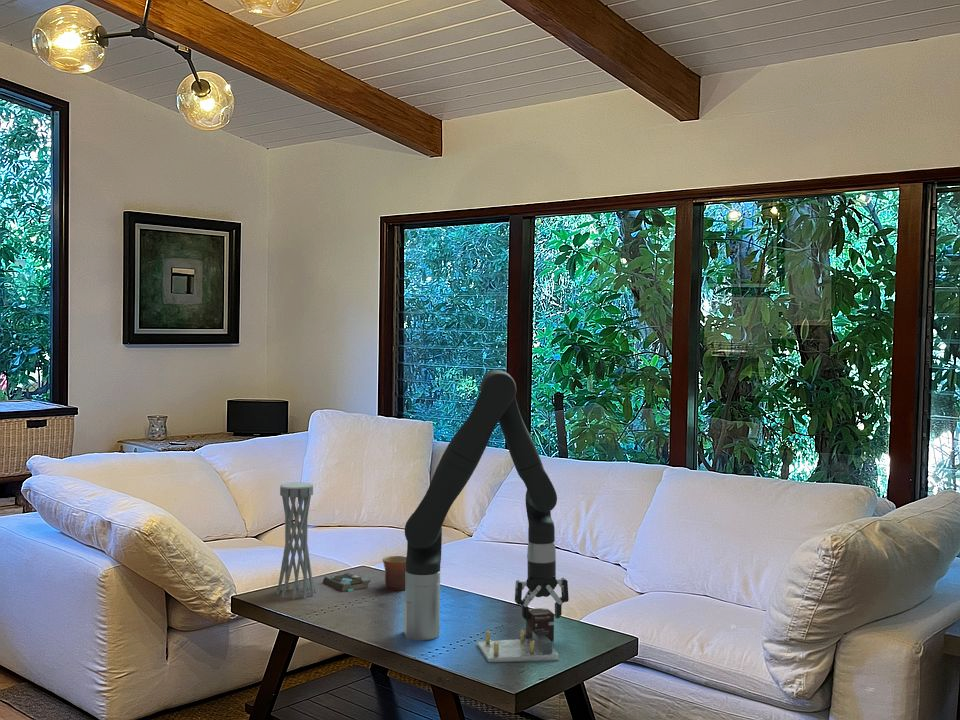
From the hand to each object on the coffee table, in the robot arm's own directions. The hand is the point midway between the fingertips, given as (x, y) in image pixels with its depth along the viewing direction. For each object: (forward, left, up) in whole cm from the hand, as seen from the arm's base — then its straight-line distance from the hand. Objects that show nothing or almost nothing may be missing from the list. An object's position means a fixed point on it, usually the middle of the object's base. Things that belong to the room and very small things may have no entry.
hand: (541, 618), depth 257 cm
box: (0, 0, -6) cm, 6 cm away
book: (-46, +56, -6) cm, 72 cm away
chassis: (-9, -11, -5) cm, 15 cm away
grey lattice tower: (-63, +47, -6) cm, 79 cm away
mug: (-32, +54, -6) cm, 63 cm away
